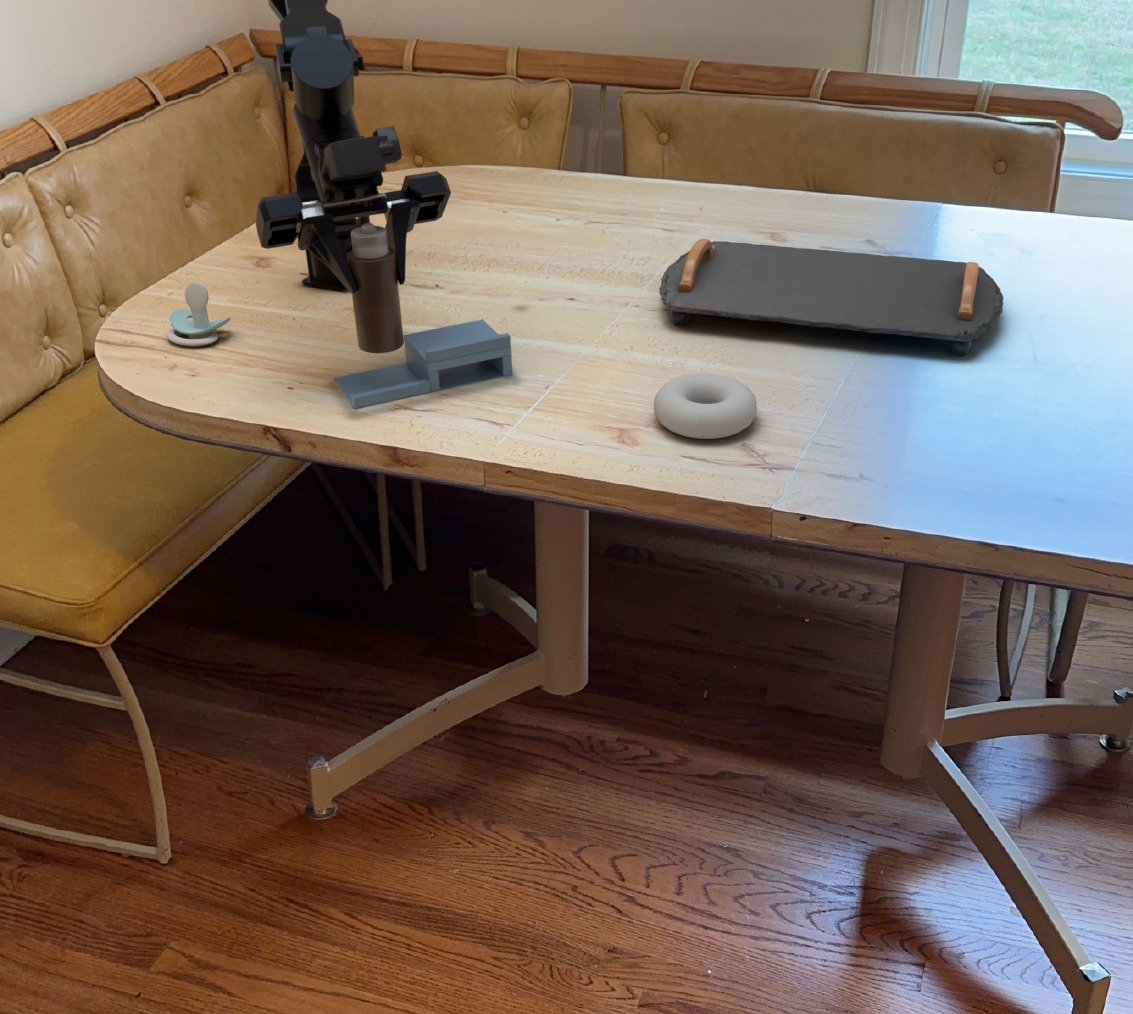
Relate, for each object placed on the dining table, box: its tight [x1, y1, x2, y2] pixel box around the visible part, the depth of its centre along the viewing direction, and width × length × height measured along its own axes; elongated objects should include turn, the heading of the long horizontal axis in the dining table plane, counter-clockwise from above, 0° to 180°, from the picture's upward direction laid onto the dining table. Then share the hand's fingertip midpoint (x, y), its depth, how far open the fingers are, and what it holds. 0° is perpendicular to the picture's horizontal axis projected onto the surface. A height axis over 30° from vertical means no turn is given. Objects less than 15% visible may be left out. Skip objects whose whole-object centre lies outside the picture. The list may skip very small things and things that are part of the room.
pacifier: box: [166, 281, 232, 347], centre depth 136 cm, size 7×6×6 cm
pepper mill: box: [347, 222, 404, 354], centre depth 119 cm, size 5×5×13 cm
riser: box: [333, 319, 513, 410], centre depth 125 cm, size 8×17×5 cm, turn 115°
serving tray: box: [659, 238, 1004, 357], centre depth 139 cm, size 39×23×6 cm, turn 72°
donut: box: [653, 373, 758, 440], centre depth 117 cm, size 10×4×10 cm
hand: (378, 287), depth 118 cm, fingers closed on pepper mill, 4 cm apart
